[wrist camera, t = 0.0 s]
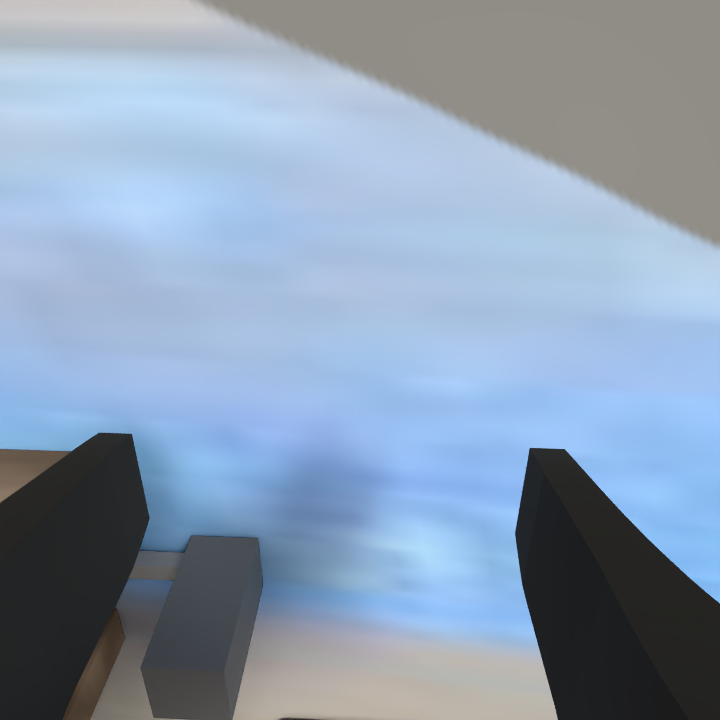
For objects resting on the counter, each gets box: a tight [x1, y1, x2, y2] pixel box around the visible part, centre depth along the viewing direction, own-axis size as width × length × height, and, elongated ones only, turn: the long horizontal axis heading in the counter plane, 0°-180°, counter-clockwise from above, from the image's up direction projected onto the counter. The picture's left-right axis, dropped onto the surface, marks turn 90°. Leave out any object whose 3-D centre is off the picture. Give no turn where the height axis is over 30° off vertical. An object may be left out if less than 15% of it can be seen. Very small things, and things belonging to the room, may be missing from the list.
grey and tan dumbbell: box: [128, 536, 263, 720], centre depth 25 cm, size 5×16×6 cm, turn 90°
